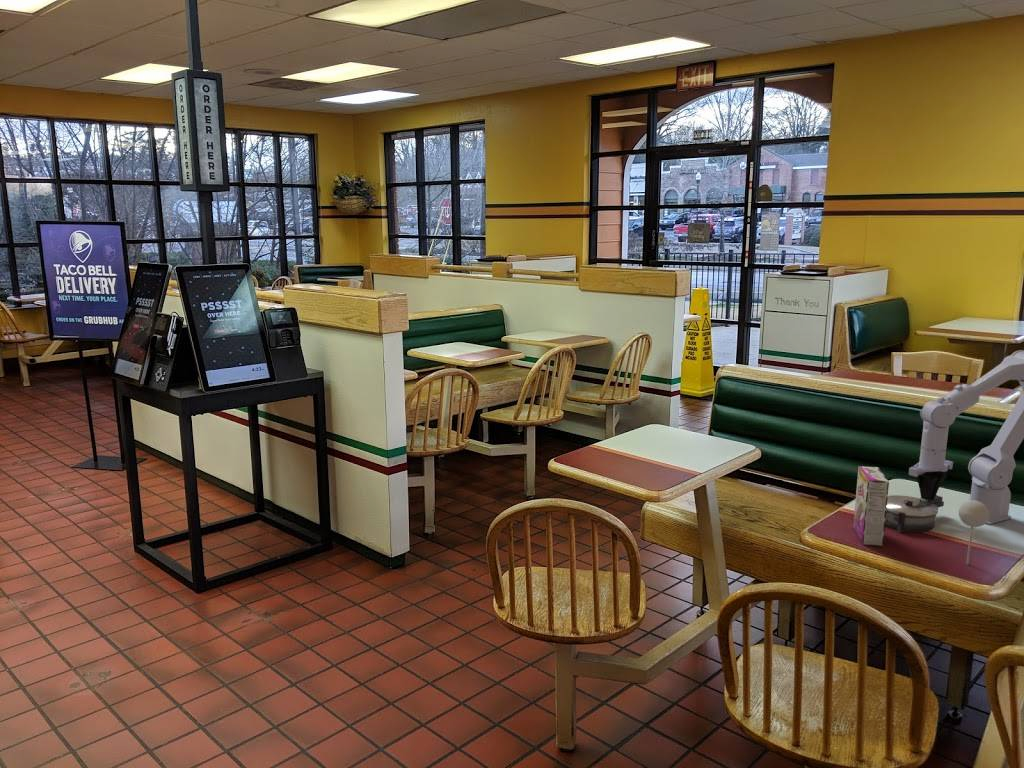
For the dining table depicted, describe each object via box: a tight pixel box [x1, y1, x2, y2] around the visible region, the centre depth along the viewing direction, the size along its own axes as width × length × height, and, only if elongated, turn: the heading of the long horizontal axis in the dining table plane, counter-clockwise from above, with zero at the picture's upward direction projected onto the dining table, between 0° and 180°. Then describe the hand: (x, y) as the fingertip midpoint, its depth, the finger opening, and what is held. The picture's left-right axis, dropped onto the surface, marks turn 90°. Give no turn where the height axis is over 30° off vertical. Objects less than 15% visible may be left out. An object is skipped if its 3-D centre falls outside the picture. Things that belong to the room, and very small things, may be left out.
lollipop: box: [958, 500, 989, 566], centre depth 179 cm, size 6×6×15 cm
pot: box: [885, 500, 945, 534], centre depth 206 cm, size 20×13×5 cm, turn 117°
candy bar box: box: [852, 465, 890, 547], centre depth 194 cm, size 11×5×16 cm, turn 168°
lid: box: [886, 494, 944, 517], centre depth 205 cm, size 19×14×2 cm
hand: (927, 498), depth 207 cm, fingers closed on lid
